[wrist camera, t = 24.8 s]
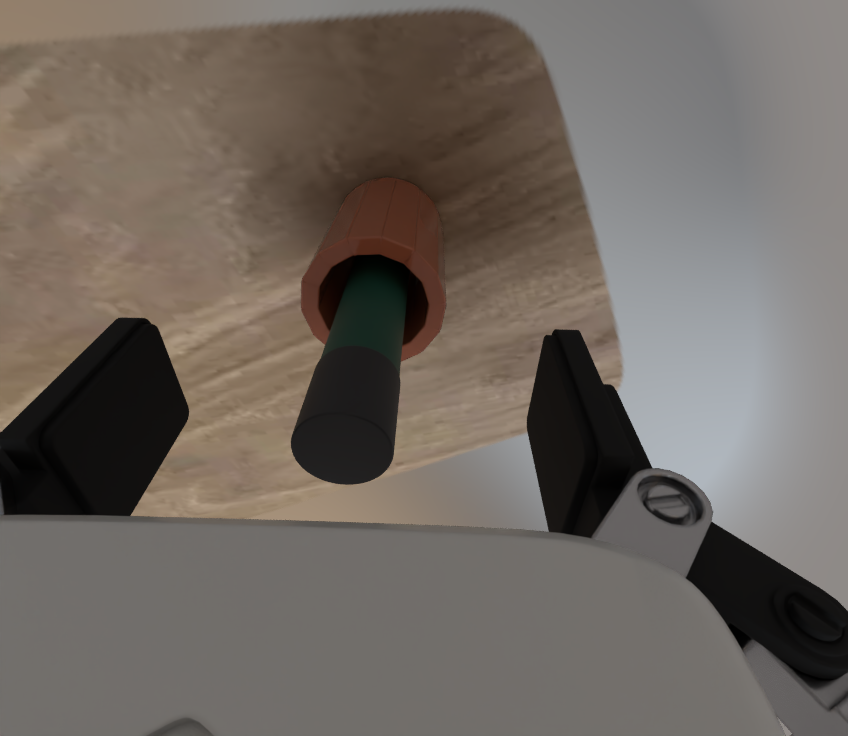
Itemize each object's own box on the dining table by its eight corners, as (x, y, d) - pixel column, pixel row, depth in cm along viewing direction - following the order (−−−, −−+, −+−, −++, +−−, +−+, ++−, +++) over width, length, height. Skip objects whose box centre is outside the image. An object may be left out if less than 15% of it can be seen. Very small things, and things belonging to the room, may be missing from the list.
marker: (352, 228, 21) (268, 436, 10) (397, 203, 20) (356, 397, 10) (380, 271, 22) (330, 496, 11) (423, 248, 21) (412, 466, 11)
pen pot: (314, 211, 21) (269, 281, 15) (409, 154, 19) (399, 208, 14) (372, 297, 23) (352, 384, 18) (461, 252, 22) (470, 331, 16)
